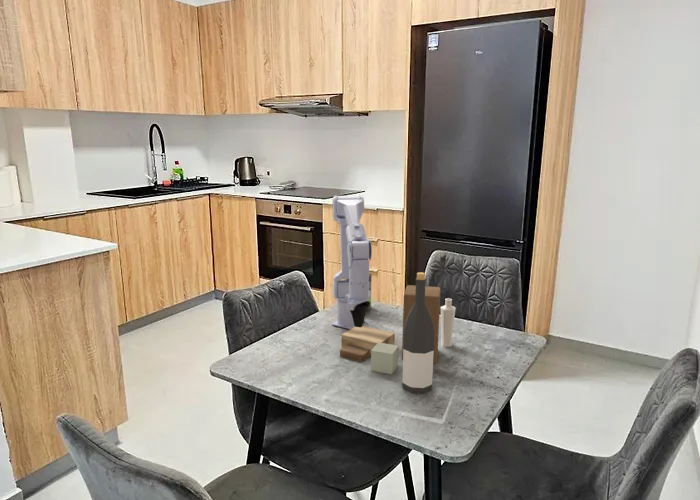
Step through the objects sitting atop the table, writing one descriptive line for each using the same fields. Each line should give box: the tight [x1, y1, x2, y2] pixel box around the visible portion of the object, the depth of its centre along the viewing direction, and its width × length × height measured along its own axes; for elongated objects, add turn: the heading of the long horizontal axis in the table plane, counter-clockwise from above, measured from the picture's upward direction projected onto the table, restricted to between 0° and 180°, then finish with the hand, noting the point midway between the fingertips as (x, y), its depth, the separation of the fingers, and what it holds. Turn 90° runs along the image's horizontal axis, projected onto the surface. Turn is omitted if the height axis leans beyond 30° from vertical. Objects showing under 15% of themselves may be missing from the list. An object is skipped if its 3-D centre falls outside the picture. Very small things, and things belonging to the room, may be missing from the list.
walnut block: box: [339, 344, 371, 363], centre depth 142 cm, size 2×8×5 cm
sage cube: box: [370, 343, 400, 375], centre depth 134 cm, size 6×6×6 cm
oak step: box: [341, 325, 396, 350], centre depth 148 cm, size 10×13×4 cm
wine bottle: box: [401, 271, 434, 394], centre depth 121 cm, size 8×8×30 cm
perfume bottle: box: [440, 297, 457, 348], centre depth 149 cm, size 5×4×15 cm
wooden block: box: [401, 284, 441, 364], centre depth 141 cm, size 10×10×20 cm
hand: (358, 326), depth 142 cm, fingers closed
